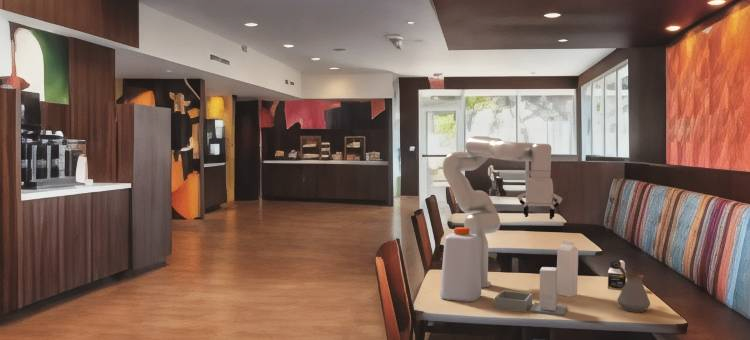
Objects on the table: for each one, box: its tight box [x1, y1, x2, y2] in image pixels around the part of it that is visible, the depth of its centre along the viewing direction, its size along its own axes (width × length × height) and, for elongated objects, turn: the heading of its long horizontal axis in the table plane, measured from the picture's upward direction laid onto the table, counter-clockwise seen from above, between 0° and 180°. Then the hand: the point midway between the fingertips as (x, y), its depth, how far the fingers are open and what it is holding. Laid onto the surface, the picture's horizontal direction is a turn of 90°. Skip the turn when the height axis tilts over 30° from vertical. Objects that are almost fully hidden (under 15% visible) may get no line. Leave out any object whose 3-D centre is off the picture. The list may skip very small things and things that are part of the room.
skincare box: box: [539, 266, 558, 311], centre depth 229 cm, size 8×6×15 cm
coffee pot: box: [614, 262, 651, 313], centre depth 237 cm, size 21×12×15 cm, turn 3°
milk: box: [556, 240, 579, 298], centre depth 253 cm, size 6×6×22 cm
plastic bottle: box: [439, 226, 482, 303], centre depth 247 cm, size 15×15×28 cm
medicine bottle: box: [607, 259, 627, 291], centre depth 267 cm, size 7×7×12 cm
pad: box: [528, 302, 568, 317], centre depth 229 cm, size 12×12×1 cm
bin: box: [494, 289, 533, 313], centre depth 235 cm, size 12×13×4 cm
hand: (538, 217), depth 245 cm, fingers open, 9 cm apart
